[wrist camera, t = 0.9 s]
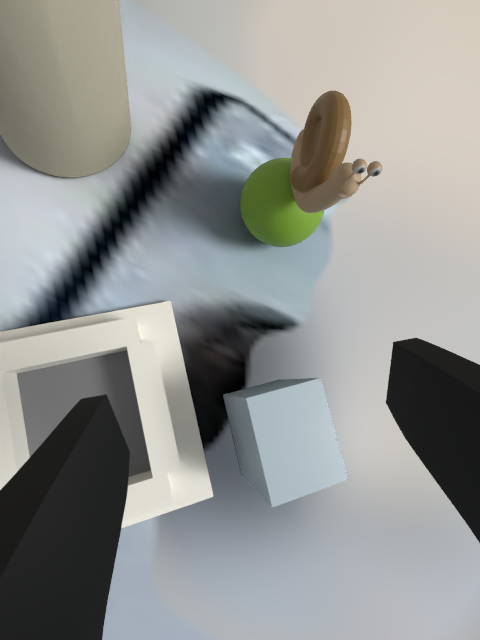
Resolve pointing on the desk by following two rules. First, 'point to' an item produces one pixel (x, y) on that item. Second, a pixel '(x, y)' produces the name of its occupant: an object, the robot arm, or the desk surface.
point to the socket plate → (123, 393)
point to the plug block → (285, 438)
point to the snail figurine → (305, 177)
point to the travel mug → (63, 84)
